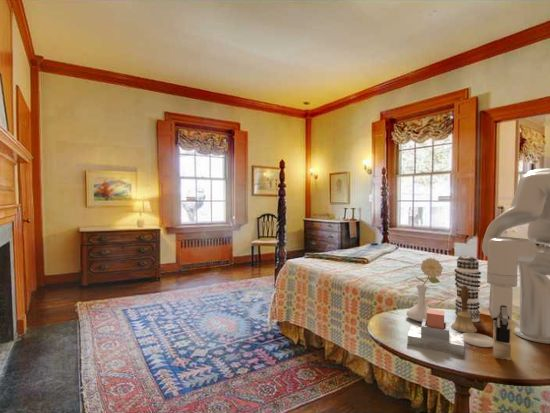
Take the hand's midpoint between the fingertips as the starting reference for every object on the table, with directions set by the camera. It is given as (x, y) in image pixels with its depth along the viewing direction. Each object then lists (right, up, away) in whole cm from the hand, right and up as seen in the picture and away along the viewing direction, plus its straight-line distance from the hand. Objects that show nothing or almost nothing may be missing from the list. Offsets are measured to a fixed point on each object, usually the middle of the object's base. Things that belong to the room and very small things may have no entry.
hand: (500, 336), depth 98 cm
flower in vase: (-9, -6, +31) cm, 33 cm away
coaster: (0, -6, +12) cm, 13 cm away
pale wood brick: (+1, -6, +1) cm, 6 cm away
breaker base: (-15, -6, +9) cm, 19 cm away
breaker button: (-15, 0, +9) cm, 18 cm away
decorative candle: (+10, -6, +34) cm, 35 cm away
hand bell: (+2, -6, +23) cm, 24 cm away
